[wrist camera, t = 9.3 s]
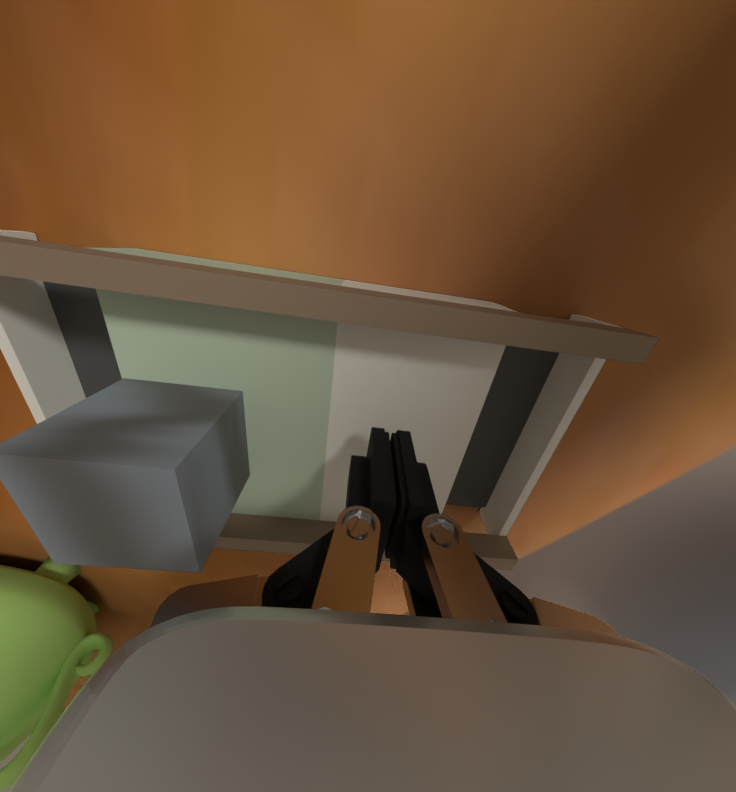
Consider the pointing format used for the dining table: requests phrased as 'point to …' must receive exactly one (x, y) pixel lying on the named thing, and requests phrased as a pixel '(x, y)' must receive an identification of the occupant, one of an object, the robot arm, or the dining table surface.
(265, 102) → the dining table surface
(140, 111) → the dining table surface
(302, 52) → the dining table surface
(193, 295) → the box
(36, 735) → the teapot
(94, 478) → the block
